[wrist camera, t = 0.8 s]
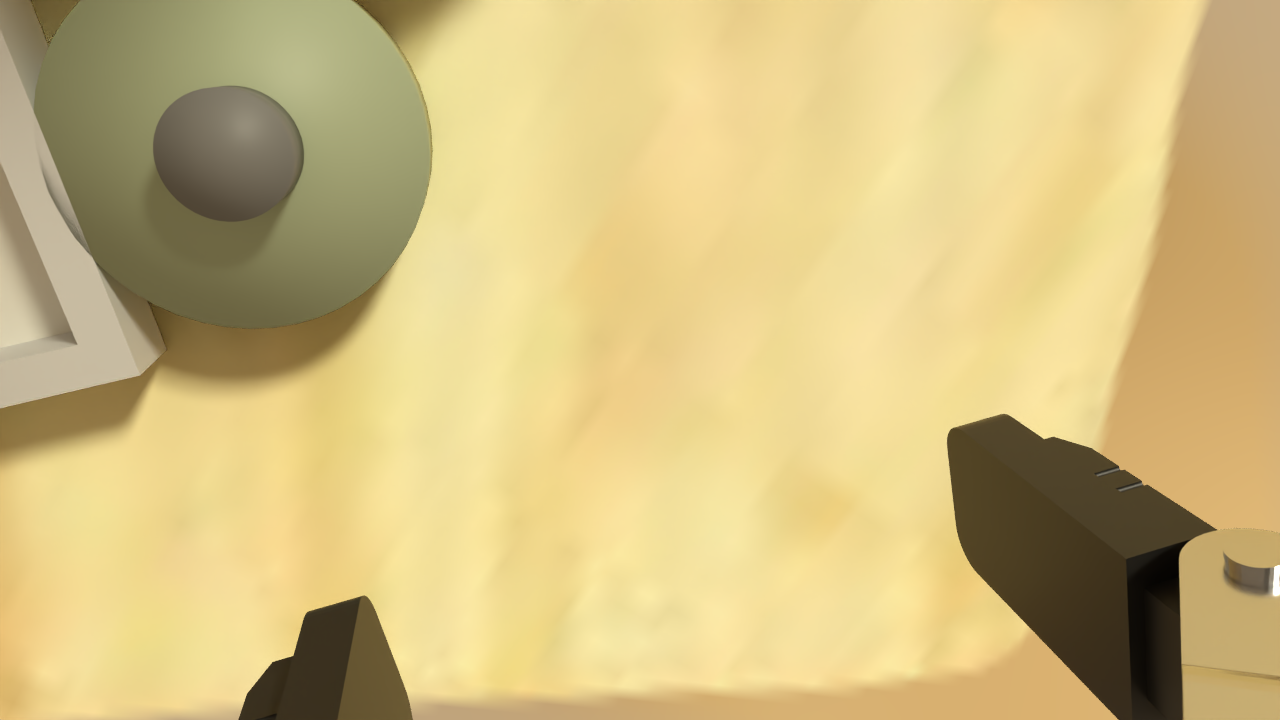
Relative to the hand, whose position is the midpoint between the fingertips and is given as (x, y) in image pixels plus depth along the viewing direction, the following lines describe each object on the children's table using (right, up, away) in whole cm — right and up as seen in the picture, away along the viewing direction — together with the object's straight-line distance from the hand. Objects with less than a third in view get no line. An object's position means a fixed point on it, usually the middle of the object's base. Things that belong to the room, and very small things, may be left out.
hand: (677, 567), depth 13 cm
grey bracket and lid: (-20, +11, +19) cm, 30 cm away
